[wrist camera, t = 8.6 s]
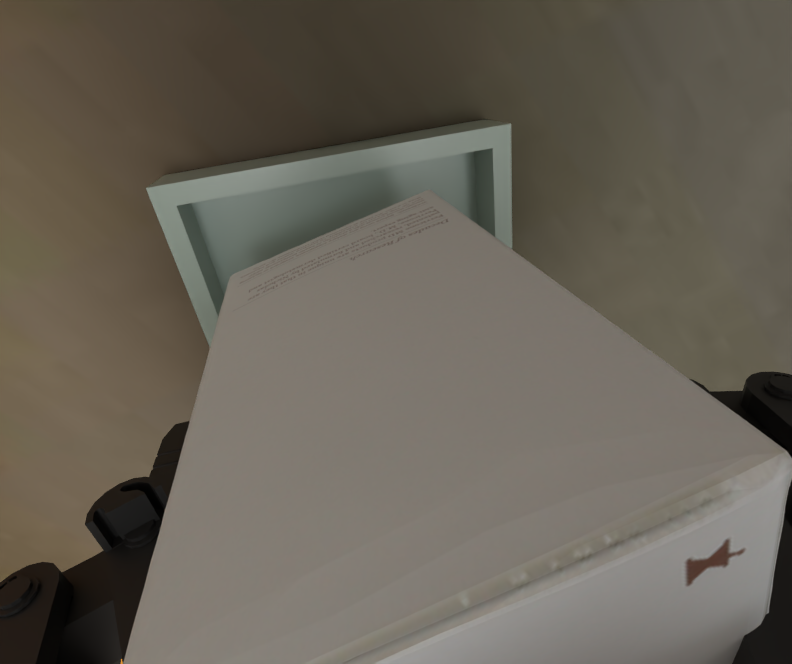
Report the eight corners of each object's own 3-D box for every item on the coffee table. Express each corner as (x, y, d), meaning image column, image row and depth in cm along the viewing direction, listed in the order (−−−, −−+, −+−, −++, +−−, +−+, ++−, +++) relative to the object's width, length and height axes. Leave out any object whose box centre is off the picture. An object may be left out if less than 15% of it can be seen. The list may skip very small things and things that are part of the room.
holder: (164, 175, 17) (145, 187, 14) (484, 119, 18) (511, 123, 16) (302, 540, 27) (303, 580, 25) (497, 487, 29) (514, 520, 26)
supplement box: (222, 271, 15) (37, 800, 4) (433, 183, 15) (848, 449, 4) (318, 429, 18) (364, 923, 8) (485, 357, 18) (771, 742, 8)
